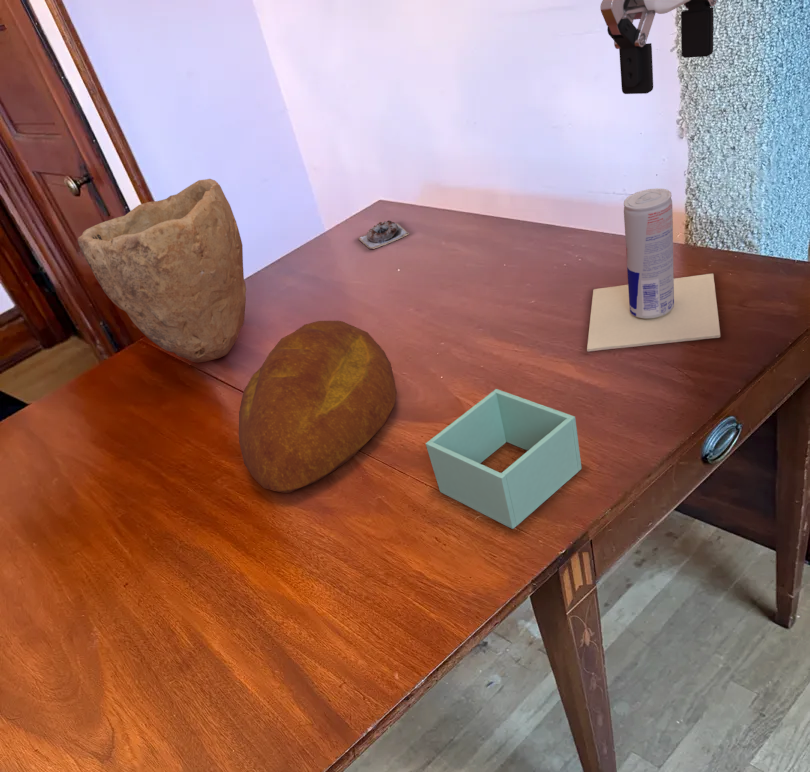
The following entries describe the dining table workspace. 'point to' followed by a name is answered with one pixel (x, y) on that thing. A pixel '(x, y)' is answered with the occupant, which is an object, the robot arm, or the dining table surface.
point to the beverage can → (649, 252)
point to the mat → (682, 323)
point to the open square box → (524, 479)
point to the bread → (314, 404)
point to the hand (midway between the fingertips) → (668, 73)
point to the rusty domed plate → (383, 234)
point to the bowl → (175, 270)
